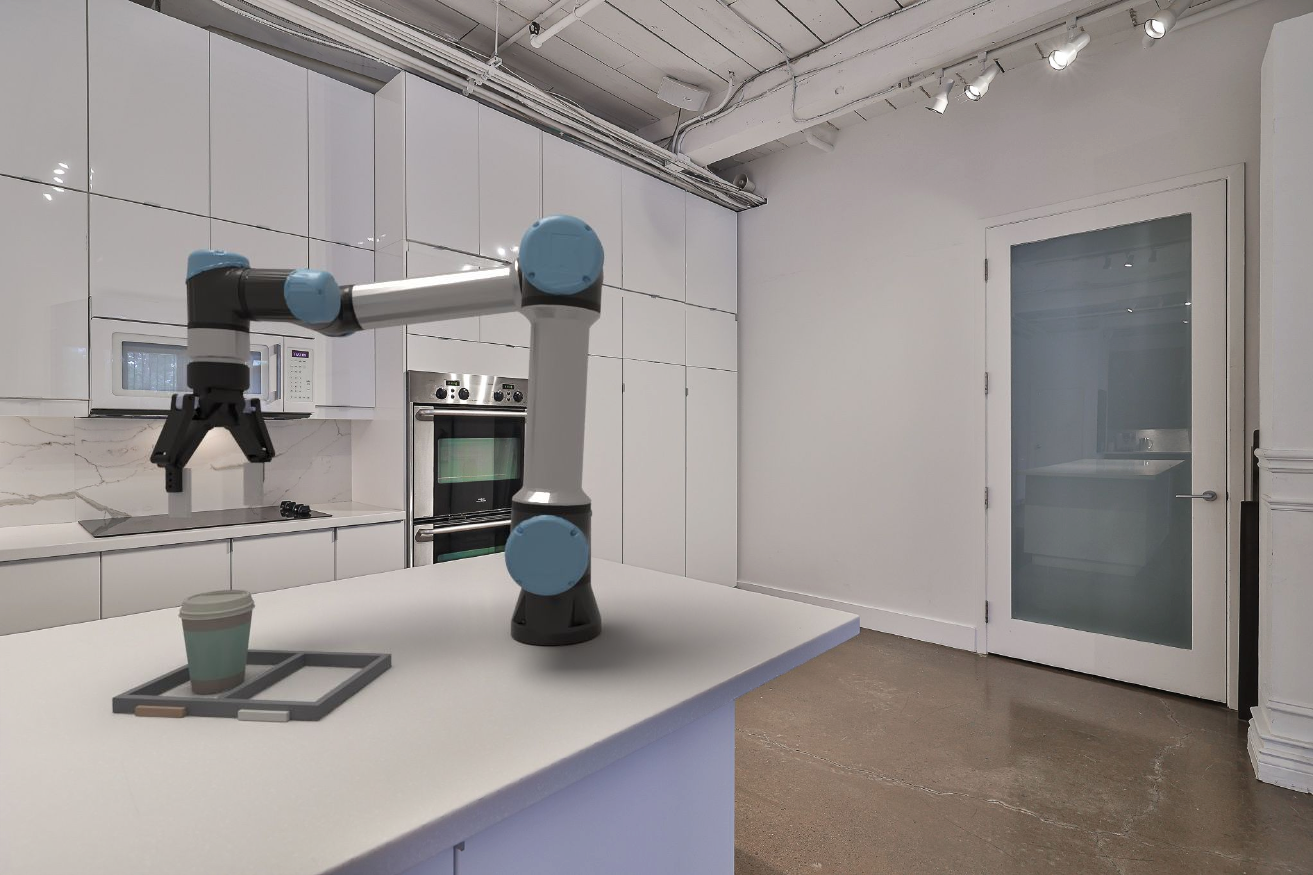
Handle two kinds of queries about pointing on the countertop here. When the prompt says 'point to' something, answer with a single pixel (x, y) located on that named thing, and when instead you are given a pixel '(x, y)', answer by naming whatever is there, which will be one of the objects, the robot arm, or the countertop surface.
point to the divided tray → (255, 689)
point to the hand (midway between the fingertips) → (219, 511)
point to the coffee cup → (217, 638)
